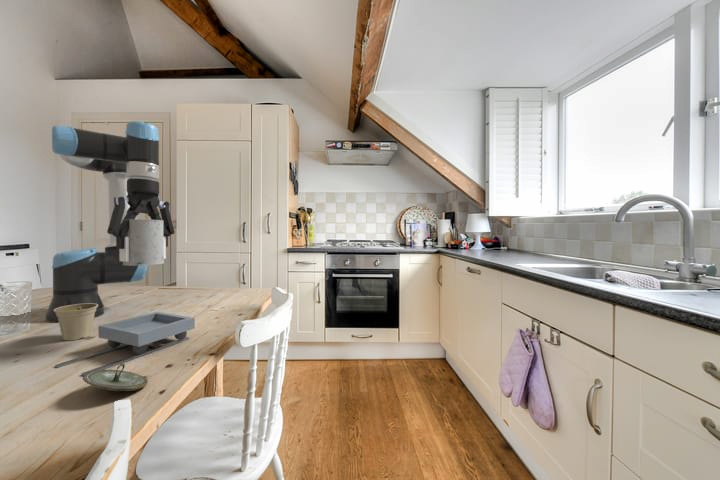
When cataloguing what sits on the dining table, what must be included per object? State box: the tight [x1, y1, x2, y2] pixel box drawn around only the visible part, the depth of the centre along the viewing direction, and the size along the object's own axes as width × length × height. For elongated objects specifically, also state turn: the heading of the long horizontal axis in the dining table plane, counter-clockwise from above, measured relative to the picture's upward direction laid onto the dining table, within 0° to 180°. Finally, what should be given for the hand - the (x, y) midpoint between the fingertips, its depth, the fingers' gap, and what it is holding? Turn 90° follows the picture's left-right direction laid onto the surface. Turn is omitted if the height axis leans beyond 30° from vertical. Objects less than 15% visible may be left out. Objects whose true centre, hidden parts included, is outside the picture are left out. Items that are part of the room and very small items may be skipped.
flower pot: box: [53, 303, 98, 341], centre depth 89 cm, size 9×9×9 cm
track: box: [54, 336, 190, 377], centre depth 80 cm, size 11×25×1 cm, turn 158°
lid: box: [82, 362, 148, 392], centre depth 61 cm, size 11×10×5 cm
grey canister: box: [123, 218, 165, 266], centre depth 88 cm, size 10×10×12 cm
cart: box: [98, 311, 196, 354], centre depth 84 cm, size 15×15×6 cm
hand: (143, 259), depth 88 cm, fingers closed on grey canister, 9 cm apart
